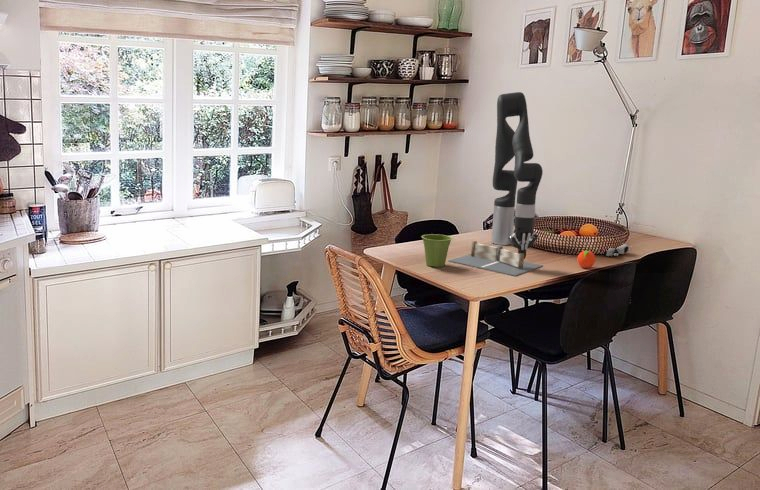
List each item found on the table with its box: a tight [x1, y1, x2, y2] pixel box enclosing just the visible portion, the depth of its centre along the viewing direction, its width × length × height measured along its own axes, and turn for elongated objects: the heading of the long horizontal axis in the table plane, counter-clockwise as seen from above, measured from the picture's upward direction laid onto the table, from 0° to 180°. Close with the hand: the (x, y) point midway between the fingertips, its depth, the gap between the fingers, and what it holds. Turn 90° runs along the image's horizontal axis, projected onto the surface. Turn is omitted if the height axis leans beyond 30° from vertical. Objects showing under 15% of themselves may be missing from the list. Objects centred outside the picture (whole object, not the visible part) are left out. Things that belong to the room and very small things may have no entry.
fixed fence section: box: [470, 240, 498, 261], centre depth 272 cm, size 12×2×6 cm, turn 50°
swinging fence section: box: [497, 245, 525, 268], centre depth 263 cm, size 14×2×6 cm, turn 32°
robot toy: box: [603, 243, 633, 257], centre depth 290 cm, size 12×4×15 cm
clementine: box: [576, 249, 597, 269], centre depth 264 cm, size 8×7×7 cm
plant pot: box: [421, 233, 453, 268], centre depth 259 cm, size 12×12×11 cm
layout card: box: [448, 253, 543, 277], centre depth 266 cm, size 22×30×1 cm
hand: (521, 258), depth 261 cm, fingers closed
